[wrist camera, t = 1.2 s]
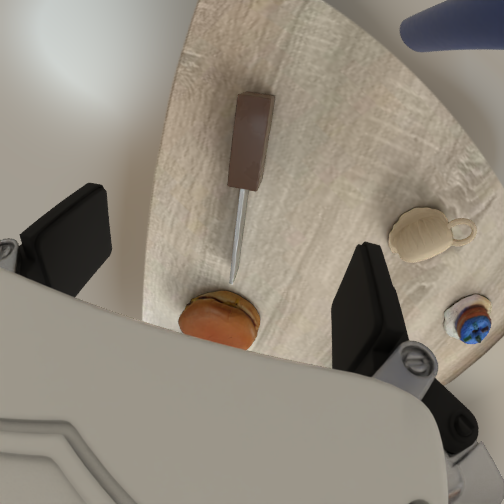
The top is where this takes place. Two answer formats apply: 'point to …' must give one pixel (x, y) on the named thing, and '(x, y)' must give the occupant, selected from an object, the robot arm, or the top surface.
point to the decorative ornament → (425, 234)
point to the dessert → (469, 319)
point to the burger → (221, 319)
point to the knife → (248, 156)
